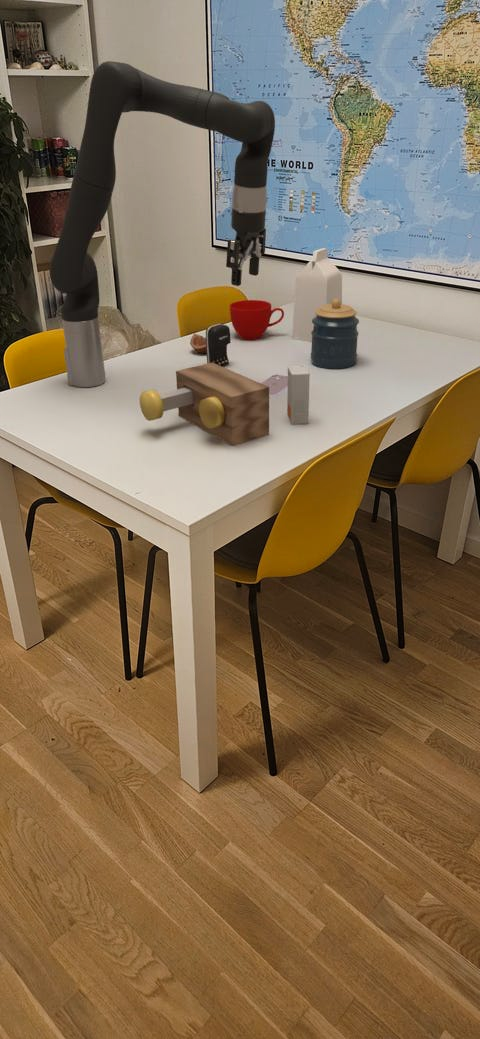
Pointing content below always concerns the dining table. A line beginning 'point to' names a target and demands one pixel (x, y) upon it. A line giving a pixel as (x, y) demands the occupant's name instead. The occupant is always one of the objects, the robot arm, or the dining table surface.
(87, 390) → the dining table surface
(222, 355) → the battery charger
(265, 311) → the ceramic cup
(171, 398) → the knob
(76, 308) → the robot arm
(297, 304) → the milk
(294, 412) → the skincare box
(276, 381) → the mobile phone
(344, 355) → the canister
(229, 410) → the block
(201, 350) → the broken brown shell
